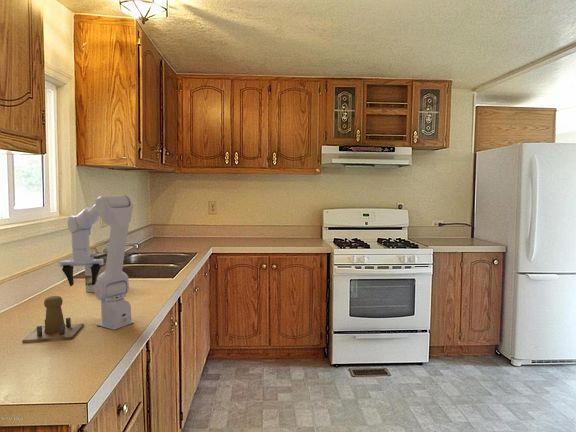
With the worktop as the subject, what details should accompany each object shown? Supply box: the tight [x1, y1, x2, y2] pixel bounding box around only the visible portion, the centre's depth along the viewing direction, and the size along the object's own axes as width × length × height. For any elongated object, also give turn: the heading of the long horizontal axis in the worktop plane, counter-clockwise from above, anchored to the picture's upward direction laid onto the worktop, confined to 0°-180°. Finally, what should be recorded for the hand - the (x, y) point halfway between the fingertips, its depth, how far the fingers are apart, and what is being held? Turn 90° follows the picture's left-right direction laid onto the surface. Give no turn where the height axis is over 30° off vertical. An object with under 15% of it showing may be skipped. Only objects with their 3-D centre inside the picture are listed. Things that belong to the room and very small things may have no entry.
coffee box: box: [84, 252, 108, 293], centre depth 184 cm, size 9×6×16 cm
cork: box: [43, 295, 66, 334], centre depth 133 cm, size 6×6×11 cm
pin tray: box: [22, 317, 85, 344], centre depth 132 cm, size 14×12×4 cm
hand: (82, 284), depth 153 cm, fingers open, 7 cm apart
